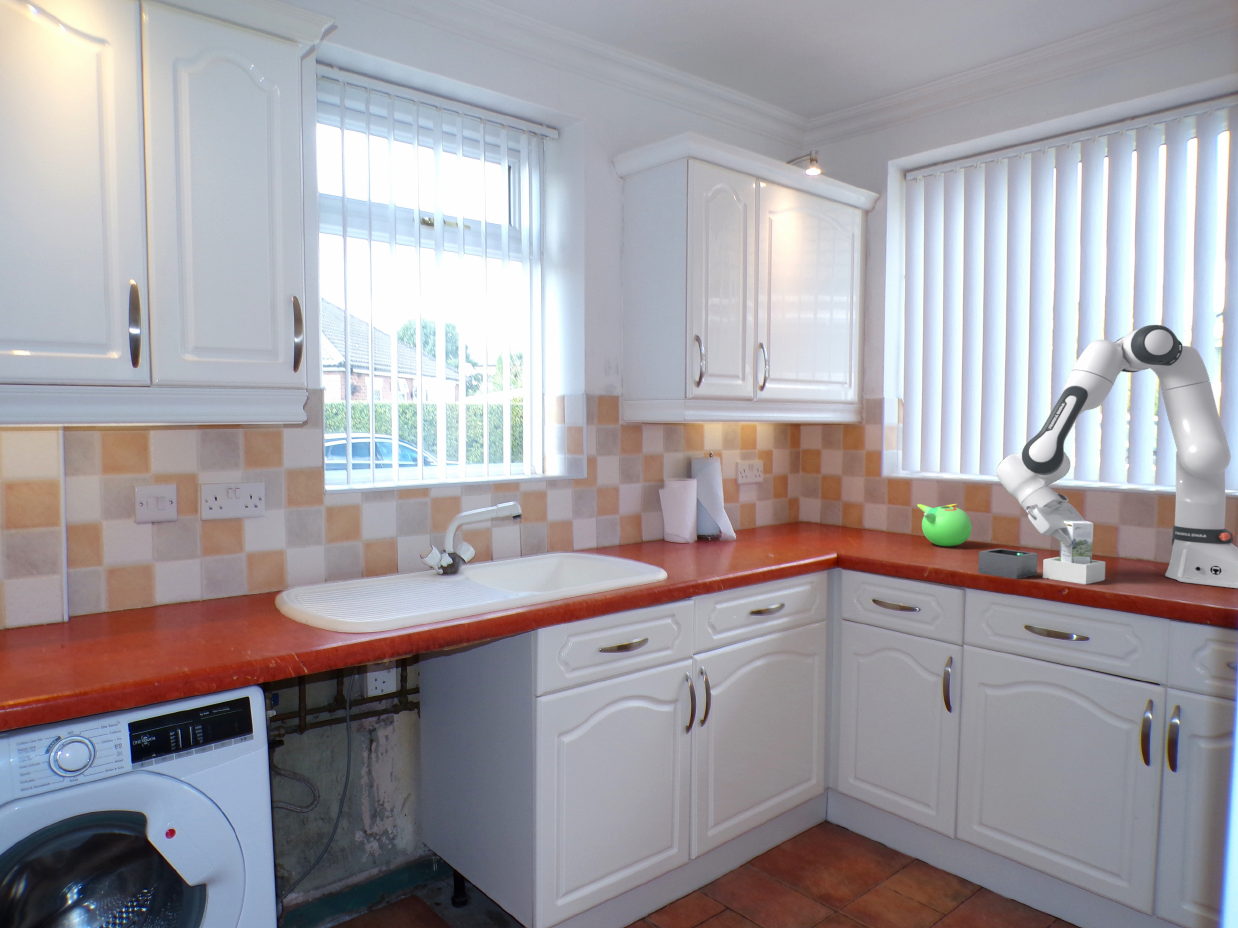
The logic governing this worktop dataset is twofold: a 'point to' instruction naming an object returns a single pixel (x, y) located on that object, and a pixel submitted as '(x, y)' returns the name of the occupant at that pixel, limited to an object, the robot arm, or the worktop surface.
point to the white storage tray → (1074, 571)
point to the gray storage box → (1007, 563)
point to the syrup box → (1077, 542)
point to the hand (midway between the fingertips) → (1078, 543)
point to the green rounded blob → (945, 525)
